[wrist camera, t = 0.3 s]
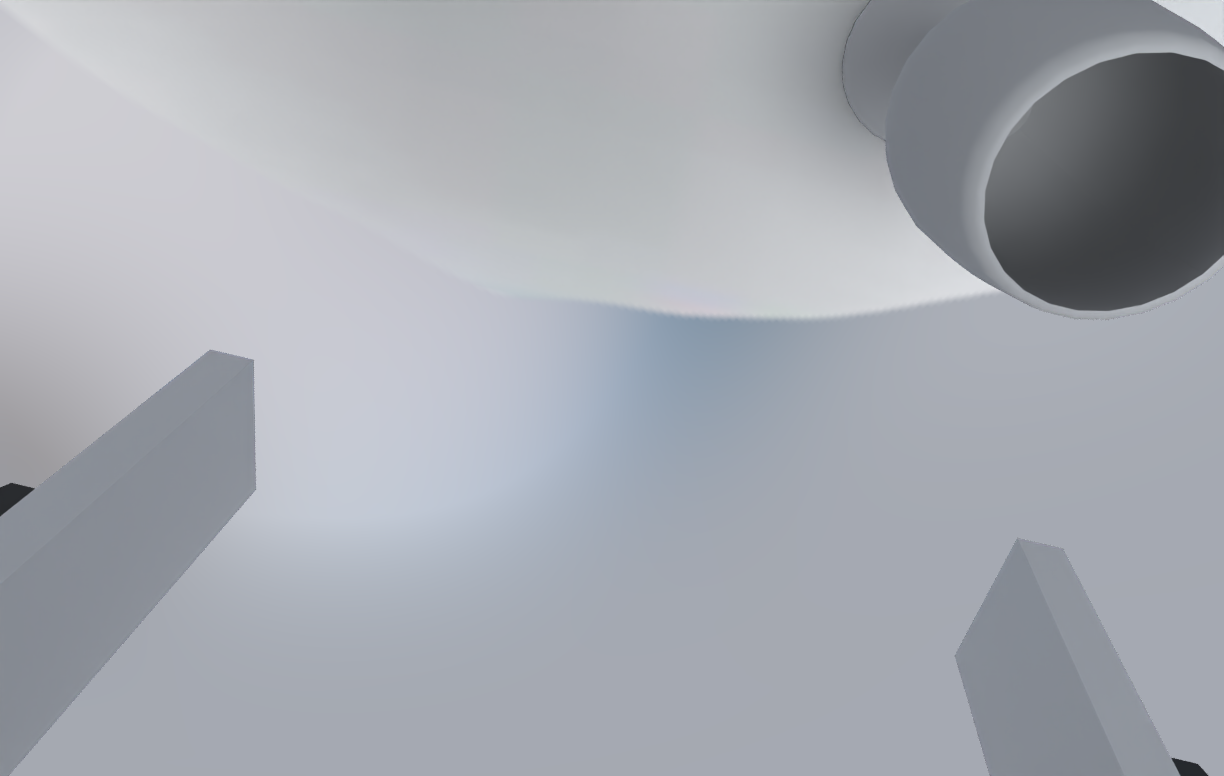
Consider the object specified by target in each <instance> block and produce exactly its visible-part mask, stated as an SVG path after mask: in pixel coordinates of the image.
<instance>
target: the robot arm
mask: <svg viewBox="0 0 1224 776" xmlns="http://www.w3.org/2000/svg"><path fill="white" fill-rule="evenodd" d="M255 473H256V468H255V414H254V360H252V359H248V358H244V357H240V356H235V355H231V354H227V353H222V352H218V351H214V350H209V351H208V352H207V353H205V354H204V355H203V356H202V357H200V358H199V359H198V360H197V361H195V362H194V363H193V364H191V366H189V367H188V368H187V369H185V370H184V371H183V372H182V373H180V374H179V375H178V376H176V377H175V378H174V379H173V380H171V381H170V382H169V383H168V384H166V385H165V386H164V387H163V388H162V389H160V390H159V391H158V392H156V393H155V394H154V395H153V396H151V397H150V398H149V399H148V400H146V401H145V402H144V403H142V404H141V405H140V406H139V407H137V408H136V409H135V410H134V411H132V412H131V413H130V414H129V415H127V416H126V417H125V418H124V419H122V420H121V421H120V422H119V423H117V424H116V425H115V426H113V427H112V428H111V429H110V430H109V431H107V432H106V433H105V434H103V435H102V436H101V437H100V438H98V439H97V440H96V441H95V442H93V443H92V444H91V445H90V446H88V447H87V448H86V449H85V450H83V451H82V452H81V453H80V454H78V455H77V456H76V457H75V458H73V459H72V460H71V461H69V462H68V463H67V464H66V465H64V466H63V467H62V468H61V469H59V470H58V471H57V472H56V473H54V474H53V475H52V476H51V477H49V478H48V479H47V480H46V481H44V482H43V483H42V484H41V485H40V486H38V487H37V488H36V489H35V488H31V487H26V486H22V485H18V484H13V483H10V484H8V485H5V486H3V487H0V776H9V775H10V774H11V773H12V771H13V770H14V769H15V768H16V767H17V765H18V764H19V763H20V762H21V761H22V760H23V759H24V758H25V756H26V755H27V754H28V753H29V752H30V751H31V749H32V748H33V747H34V746H35V745H36V744H37V743H38V741H39V740H40V739H41V738H42V737H43V736H44V734H45V733H46V732H47V731H48V730H49V729H50V727H51V726H52V725H53V724H54V723H55V722H56V721H57V719H58V718H59V717H60V716H61V715H62V714H63V712H64V711H65V710H66V709H67V708H68V707H69V705H70V704H71V703H72V702H73V701H74V700H75V698H76V697H77V696H78V695H79V694H80V693H81V692H82V690H83V689H84V688H85V687H86V686H87V684H88V683H89V682H90V681H91V680H92V679H93V678H94V677H95V675H96V674H97V673H98V672H99V671H100V670H101V668H102V667H103V666H104V665H105V664H106V663H107V661H108V660H109V659H110V658H111V657H112V656H113V655H114V653H115V652H116V651H117V650H118V649H119V648H120V646H121V645H122V644H123V643H124V642H125V641H126V640H127V638H128V637H129V636H130V635H131V634H132V632H133V631H134V630H135V629H136V628H137V627H138V625H139V624H140V623H141V622H142V621H143V620H144V619H145V618H146V616H147V615H148V614H149V613H150V612H151V611H152V609H153V608H154V607H155V606H156V605H157V604H158V602H159V601H160V600H161V599H162V598H163V597H164V596H165V594H166V593H167V592H168V591H169V590H170V589H171V587H172V586H173V585H174V584H175V583H176V582H177V580H178V579H179V578H180V577H181V576H182V575H183V573H184V572H185V571H186V570H187V569H188V568H189V567H190V565H191V564H192V563H193V562H194V561H195V560H196V558H197V557H198V556H199V555H200V554H201V553H202V552H203V550H204V549H205V548H206V547H207V546H208V544H209V543H210V542H211V541H212V540H213V539H214V538H215V536H216V535H217V534H218V533H219V532H220V531H221V530H222V528H223V527H224V526H225V525H226V524H227V523H228V521H229V520H230V519H231V518H232V517H233V515H234V514H235V513H236V512H237V511H238V510H239V508H241V506H242V505H243V504H244V503H245V502H246V501H247V499H248V498H249V497H250V496H251V495H252V494H253V492H254V491H255V490H256V474H255ZM955 658H956V662H957V665H958V668H959V672H960V675H961V679H962V682H963V686H964V689H965V692H966V696H967V699H968V703H969V706H970V709H971V713H972V716H973V720H974V723H975V727H976V730H977V734H978V737H979V741H980V744H981V747H982V751H983V754H984V757H985V761H986V765H987V768H988V771H989V775H990V776H1208V775H1207V774H1206V773H1205V771H1204V770H1203V769H1202V768H1201V767H1200V766H1199V765H1198V764H1196V763H1191V762H1187V761H1183V760H1179V759H1175V758H1171V757H1170V755H1169V753H1168V751H1167V749H1166V747H1165V745H1164V743H1163V741H1162V739H1161V738H1160V735H1159V733H1158V731H1157V730H1156V728H1155V726H1154V724H1153V722H1152V720H1151V718H1150V716H1149V714H1148V712H1147V710H1146V708H1145V706H1144V704H1143V702H1142V700H1141V699H1140V697H1139V695H1138V693H1137V691H1136V689H1135V687H1134V685H1133V683H1132V681H1131V679H1130V677H1129V676H1128V673H1127V672H1126V669H1125V668H1124V666H1123V664H1122V662H1121V660H1120V658H1119V656H1118V654H1117V652H1116V650H1115V648H1114V646H1113V644H1112V643H1111V640H1110V638H1109V637H1108V635H1107V633H1106V631H1105V629H1104V627H1103V625H1102V623H1101V621H1100V619H1099V617H1098V615H1097V614H1096V611H1095V609H1094V608H1093V606H1092V604H1091V602H1090V600H1089V598H1088V596H1087V594H1086V592H1085V590H1084V588H1083V586H1082V584H1081V582H1080V580H1079V578H1078V576H1077V575H1076V573H1075V571H1074V569H1073V567H1072V565H1071V563H1070V561H1069V559H1068V557H1067V555H1066V553H1065V551H1064V549H1063V548H1059V547H1054V546H1050V545H1046V544H1041V543H1037V542H1032V541H1028V540H1024V539H1020V538H1017V540H1016V541H1015V543H1014V545H1013V547H1012V549H1011V551H1010V553H1009V555H1008V556H1007V559H1006V560H1005V562H1004V564H1003V566H1002V568H1001V570H1000V572H999V574H998V575H997V577H996V579H995V581H994V583H993V585H992V586H991V588H990V590H989V592H988V594H987V596H986V598H985V600H984V602H983V603H982V605H981V607H980V609H979V611H978V613H977V615H976V617H975V618H974V620H973V622H972V624H971V626H970V628H969V630H968V632H967V633H966V636H965V637H964V639H963V641H962V643H961V645H960V647H959V649H958V650H957V652H956V654H955Z"/></svg>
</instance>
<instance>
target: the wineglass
mask: <svg viewBox="0 0 1224 776" xmlns="http://www.w3.org/2000/svg"><path fill="white" fill-rule="evenodd" d="M842 66H843V85H844V89H845V92H846V95H847V99H848V102H849V105H850V106H851V108H852V110H853V111H854V113H855V115H856V116H857V118H858V119H859V121H860V122H861V123H862V124H863V125H864V126H865V127H866V128H867V129H868V130H869V131H870V132H871V133H872V134H874V135H875V136H877V137H879V138H881V139H883V140H885V141H886V158H887V163H888V167H889V170H890V174H891V177H892V181H893V184H894V188H895V191H896V193H897V194H898V196H899V198H900V200H901V201H902V203H903V205H904V206H905V208H906V210H907V211H908V213H909V215H910V216H911V218H912V220H913V221H914V223H915V225H916V226H917V227H918V228H919V229H920V230H921V231H922V232H923V233H925V234H926V235H927V236H928V237H929V238H930V239H931V240H932V241H933V242H934V243H935V244H936V245H937V246H938V247H940V248H941V249H942V250H943V251H944V252H945V253H946V254H947V255H948V256H949V257H951V258H952V259H953V260H954V261H956V262H957V263H958V264H959V265H961V266H962V267H963V268H965V269H966V270H967V271H969V272H970V273H971V274H973V275H974V276H976V277H978V278H979V279H981V280H983V281H984V282H986V283H988V284H989V285H991V286H993V287H995V288H997V289H999V290H1001V291H1002V292H1004V293H1006V294H1008V295H1010V296H1012V297H1014V298H1016V299H1018V300H1020V301H1022V302H1023V303H1025V304H1027V305H1029V306H1031V307H1034V308H1036V309H1039V310H1041V311H1044V312H1048V313H1052V314H1056V315H1060V316H1064V317H1068V318H1073V319H1102V320H1104V319H1105V320H1109V319H1114V318H1120V317H1125V316H1130V315H1136V314H1141V313H1145V312H1147V311H1150V310H1152V309H1155V308H1157V307H1160V306H1162V305H1165V304H1168V303H1170V302H1172V301H1175V300H1177V299H1179V298H1181V297H1183V296H1184V295H1186V294H1187V293H1189V292H1191V291H1192V290H1194V289H1195V288H1197V287H1199V286H1200V285H1202V284H1203V283H1205V282H1207V281H1208V280H1210V279H1211V278H1212V277H1213V276H1214V275H1215V274H1216V273H1217V272H1219V271H1220V270H1221V269H1222V268H1223V267H1224V47H1223V46H1222V45H1221V44H1220V43H1219V42H1217V41H1216V40H1215V39H1214V38H1212V37H1211V36H1210V35H1208V34H1207V33H1206V32H1204V31H1203V30H1202V29H1200V28H1199V27H1197V26H1195V25H1194V24H1192V23H1190V22H1189V21H1187V20H1185V19H1183V18H1182V17H1180V16H1178V15H1176V14H1175V13H1173V12H1171V11H1169V10H1168V9H1166V8H1164V7H1163V6H1161V5H1159V4H1157V3H1156V2H1154V1H1152V0H871V1H870V2H869V3H868V4H867V6H866V7H865V9H864V10H863V11H862V13H861V14H860V15H859V17H858V18H857V20H856V21H855V24H854V26H853V28H852V30H851V33H850V35H849V37H848V39H847V42H846V47H845V52H844V57H843V63H842Z"/></svg>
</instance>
